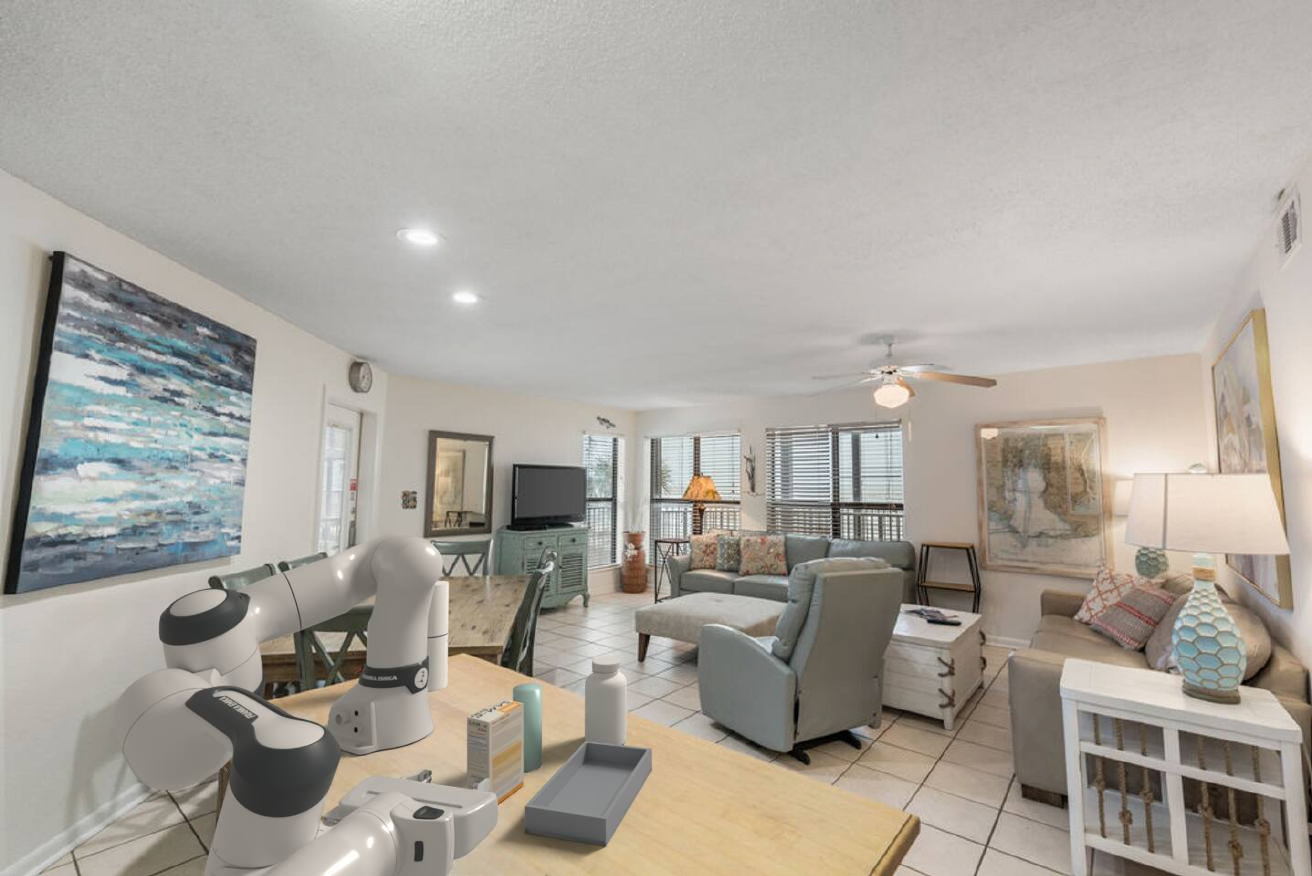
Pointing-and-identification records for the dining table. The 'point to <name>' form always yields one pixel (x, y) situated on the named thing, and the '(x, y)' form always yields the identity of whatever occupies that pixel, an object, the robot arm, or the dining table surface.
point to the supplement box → (497, 747)
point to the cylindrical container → (438, 637)
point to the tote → (589, 793)
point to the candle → (531, 723)
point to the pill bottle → (606, 702)
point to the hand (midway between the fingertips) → (456, 778)
